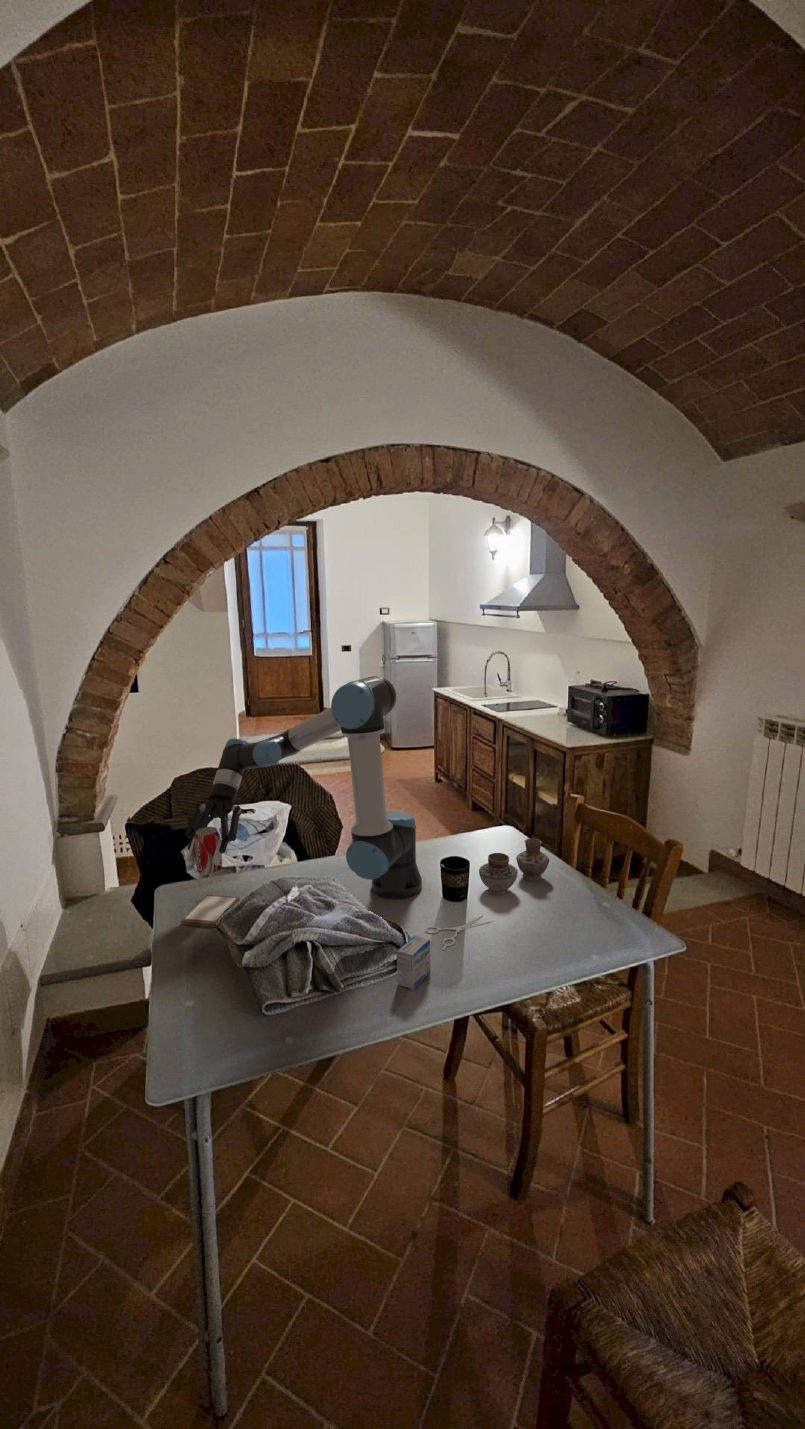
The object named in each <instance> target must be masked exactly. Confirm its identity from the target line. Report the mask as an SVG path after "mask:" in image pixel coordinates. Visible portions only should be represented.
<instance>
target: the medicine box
mask: <svg viewBox="0 0 805 1429" xmlns="http://www.w3.org/2000/svg"><path fill="white" fill-rule="evenodd" d="M396 971H397V972H396V973H397V974H396V975H397V985H398V984H399V985H398V986H401V987H403V986H404V988H406V987H409V988H411V989H410V990H412V989H414V988H415V987H416V988H417V987H418V986H419V985H420V984H421V983H422V982H423V981H424V980H425V979H424V978H425V977H426V976H427V977H428V976H429V974H431V940H430V939H428V938H426V937H423V936H420V935H417V934H415V935H413V936H412V937H411V938H410V939H409V940H408V941H407V942H405V943H404V944H403V945H402V946H401V947H400V948H399V949H398V950H396ZM427 977H426V978H427ZM423 979H424V980H423ZM421 981H422V982H421ZM420 982H421V983H420ZM418 984H419V985H418ZM417 985H418V986H417ZM409 988H408V989H409ZM416 988H415V989H416ZM415 989H414V990H415Z"/></svg>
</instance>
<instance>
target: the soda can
mask: <svg viewBox="0 0 805 1429" xmlns="http://www.w3.org/2000/svg"><path fill="white" fill-rule="evenodd" d="M219 839H220V840H221V836H220V833H219V832H218V828H217V827H214V826H207V827H203V828H200V829H198V830H196V835H195V837H194V848H195V858H194V860H195V866H196V871H197V873H200V874H201V875H205V876H207V875H208V876H209V875H213V874H216V873H218V872H219V871H220V870H221V869H222V868H223V857H222V856H223V855H221V859H220V862H219V865H218V866H217V865H215V864H214V863H213V862H212V860H213V857H214V854H215V850H216V847H217V844H218V840H219Z"/></svg>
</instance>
